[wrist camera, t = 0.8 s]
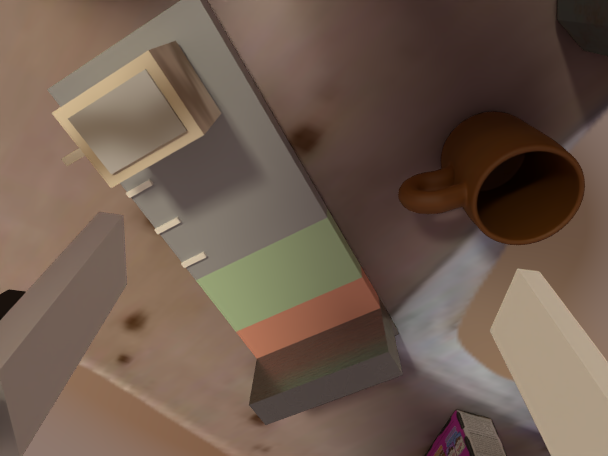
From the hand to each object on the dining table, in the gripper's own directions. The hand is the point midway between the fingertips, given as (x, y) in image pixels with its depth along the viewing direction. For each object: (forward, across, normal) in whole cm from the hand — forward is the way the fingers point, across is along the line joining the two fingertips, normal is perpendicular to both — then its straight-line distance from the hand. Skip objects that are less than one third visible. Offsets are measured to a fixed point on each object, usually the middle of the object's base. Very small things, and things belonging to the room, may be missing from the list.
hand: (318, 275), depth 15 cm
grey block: (+24, +4, -24) cm, 34 cm away
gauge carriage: (+23, -13, -2) cm, 26 cm away
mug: (+25, +13, -3) cm, 28 cm away
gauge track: (+25, -6, -10) cm, 27 cm away
